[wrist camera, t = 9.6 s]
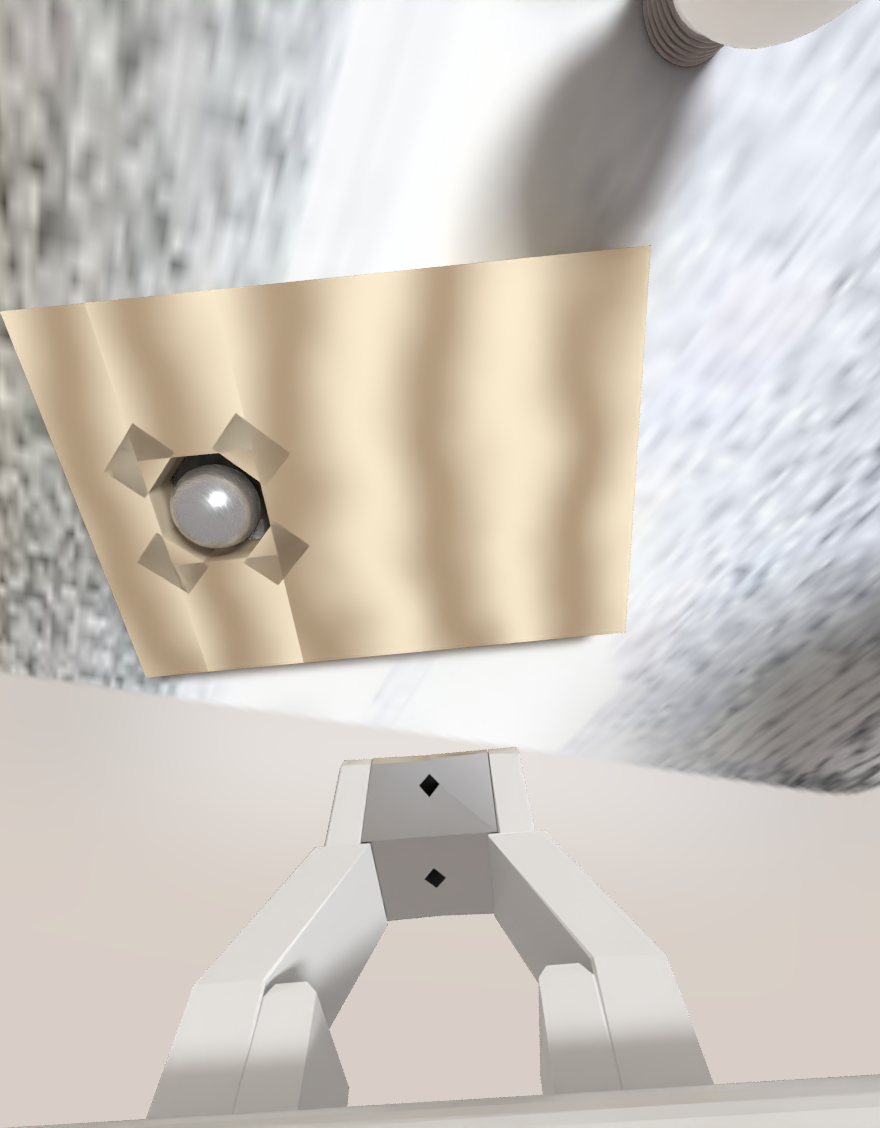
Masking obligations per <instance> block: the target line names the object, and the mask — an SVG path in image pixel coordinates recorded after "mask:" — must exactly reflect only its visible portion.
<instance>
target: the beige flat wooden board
mask: <svg viewBox="0 0 880 1128" xmlns="http://www.w3.org/2000/svg"><path fill="white" fill-rule="evenodd" d="M650 252H651V245H648V246H638V247H628V248H618V249H609V250H599V251H589V252H579V253H569V254H560V255H550V256H540V257H530V258H520V259H511V260H501V261H491V262H481V263H472V264H462V265H452V266H442V267H432V268H423V269H413V270H403V271H393V272H384V273H374V274H364V275H354V276H344V277H335V278H325V279H315V280H305V281H296V282H286V283H276V284H266V285H256V286H247V287H237V288H227V289H217V290H208V291H198V292H188V293H178V294H168V295H159V296H149V297H139V298H129V299H119V300H110V301H100V302H90V303H80V304H71V305H61V306H51V307H41V308H31V309H22V310H12V311H2V312H0V313H1V315H2V318H3V320H4V323H5V325H6V328H7V330H8V333H9V335H10V338H11V340H12V343H13V345H14V348H15V350H16V353H17V355H18V358H19V360H20V363H21V365H22V368H23V370H24V373H25V375H26V378H27V380H28V383H29V385H30V388H31V390H32V393H33V395H34V398H35V400H36V403H37V405H38V408H39V410H40V413H41V415H42V418H43V420H44V423H45V425H46V428H47V430H48V433H49V435H50V438H51V440H52V443H53V445H54V448H55V450H56V453H57V455H58V458H59V460H60V463H61V465H62V468H63V470H64V473H65V475H66V478H67V480H68V483H69V485H70V488H71V490H72V493H73V495H74V498H75V500H76V503H77V505H78V508H79V510H80V513H81V515H82V518H83V521H84V523H85V526H86V528H87V531H88V533H89V536H90V538H91V541H92V543H93V546H94V548H95V551H96V553H97V556H98V558H99V561H100V563H101V566H102V568H103V571H104V573H105V576H106V578H107V581H108V583H109V586H110V588H111V591H112V593H113V596H114V598H115V601H116V603H117V606H118V608H119V611H120V613H121V616H122V618H123V621H124V623H125V626H126V628H127V631H128V633H129V636H130V638H131V641H132V643H133V646H134V648H135V651H136V653H137V656H138V658H139V661H140V663H141V666H142V668H143V671H144V673H145V676H146V678H147V677H158V676H168V675H179V674H189V673H200V672H211V671H221V670H232V669H242V668H253V667H264V666H274V665H285V664H295V663H306V662H316V661H327V660H338V659H348V658H359V657H369V656H380V655H390V654H401V653H412V652H422V651H433V650H443V649H454V648H465V647H475V646H486V645H496V644H507V643H517V642H528V641H539V640H549V639H560V638H570V637H581V636H591V635H602V634H613V633H623V632H626V618H627V602H628V587H629V572H630V557H631V541H632V526H633V511H634V496H635V480H636V465H637V450H638V435H639V419H640V404H641V389H642V374H643V358H644V343H645V328H646V313H647V297H648V282H649V267H650ZM213 453H220V454H221V455H222V456H224V457H225V458H227V459H228V460H229V461H231V462H232V463H234V464H235V465H236V466H238V467H239V468H241V469H242V470H243V471H245V472H246V473H248V474H249V475H251V476H252V477H253V478H255V479H256V480H258V481H259V482H260V484H261V488H262V492H263V496H264V501H265V505H266V509H267V513H268V517H269V521H270V525H271V526H270V527H269V529H268V530H267V531H266V533H265V534H264V535H263V537H262V538H261V539H252V540H244V541H242V542H240V543H238V544H237V545H234V546H231V547H227V548H221V549H215V548H207V547H203V546H200V545H197V544H195V543H194V542H192V541H190V540H189V539H187V538H186V537H185V536H184V535H183V534H182V533H181V532H180V531H179V530H178V528H177V527H176V525H175V523H174V521H173V519H172V516H171V512H170V498H171V494H172V491H173V489H174V485H173V482H172V479H171V478H172V476H173V475H174V473H175V472H176V470H177V469H178V467H179V466H180V464H181V462H182V461H183V459H184V458H185V456H193V455H203V454H213Z"/></svg>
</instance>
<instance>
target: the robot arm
mask: <svg viewBox="0 0 880 1128" xmlns="http://www.w3.org/2000/svg"><path fill="white" fill-rule="evenodd" d="M491 913H494V915H495V917H496V919H497V921H498V922H499V924H500V925H501V927H502V928H503V930H504V931H505V933H506V934H507V936H508V938H509V939H510V941H511V942H512V944H513V945H514V947H515V948H516V950H517V951H518V953H519V954H520V956H521V957H522V959H523V960H524V962H525V963H526V965H527V967H528V968H529V970H530V971H531V973H532V974H533V976H534V977H535V979H536V980H537V982H538V983H539V1026H540V1076H541V1083H542V1091H543V1095H532V1096H516V1097H499V1098H484V1099H467V1100H450V1101H434V1102H417V1103H402V1104H386V1105H368V1106H352V1107H347V1103H348V1091H349V1086H348V1084H347V1080H346V1077H345V1075H344V1072H343V1069H342V1066H341V1063H340V1060H339V1057H338V1054H337V1051H336V1048H335V1045H334V1042H333V1039H332V1037H331V1034H330V1031H329V1028H330V1027H331V1025H332V1023H333V1021H334V1019H335V1018H336V1016H337V1014H338V1012H339V1011H340V1009H341V1007H342V1005H343V1003H344V1002H345V1000H346V998H347V996H348V995H349V993H350V991H351V989H352V988H353V986H354V984H355V982H356V980H357V979H358V976H359V975H360V973H361V972H362V970H363V968H364V966H365V964H366V963H367V961H368V959H369V957H370V955H371V954H372V952H373V950H374V948H375V947H376V945H377V943H378V941H379V940H380V938H381V936H382V934H383V933H384V931H385V929H386V927H387V925H388V923H387V921H391V920H401V919H412V918H422V917H431V916H442V915H464V914H465V915H467V914H491ZM11 1128H880V1074H877V1075H861V1076H844V1077H827V1078H811V1079H795V1080H778V1081H762V1082H745V1083H729V1084H713V1081H712V1078H711V1075H710V1073H709V1070H708V1067H707V1065H706V1062H705V1059H704V1056H703V1053H702V1051H701V1048H700V1046H699V1042H698V1040H697V1037H696V1034H695V1031H694V1029H693V1026H692V1023H691V1020H690V1018H689V1015H688V1012H687V1009H686V1007H685V1004H684V1001H683V999H682V996H681V993H680V991H679V988H678V985H677V982H676V979H675V977H674V974H673V971H672V968H671V966H670V963H669V960H668V957H667V955H666V954H665V953H664V952H663V951H662V950H661V949H660V948H659V947H658V945H656V943H655V942H654V941H653V940H651V938H650V937H649V936H648V935H647V934H646V933H645V932H644V931H643V930H642V929H641V928H640V927H639V926H638V925H637V924H636V923H635V922H634V921H633V920H632V919H631V918H630V917H629V916H628V915H627V914H626V913H625V912H624V911H623V910H622V909H621V908H620V907H619V906H618V905H617V904H616V903H615V902H614V901H613V900H612V899H611V898H610V896H608V894H606V892H605V891H604V890H602V888H601V887H600V886H599V885H598V884H597V883H596V882H595V881H594V880H593V879H592V878H591V877H590V876H589V875H588V874H587V873H586V872H585V871H584V870H583V869H582V868H581V867H580V866H579V865H578V864H577V863H576V862H575V861H574V860H573V859H572V858H571V857H570V856H569V855H568V854H567V853H566V852H565V851H564V850H563V849H562V848H561V847H560V846H559V844H557V842H556V841H555V840H554V839H553V838H552V837H551V836H550V835H549V834H548V833H547V832H546V831H545V830H538V831H537V830H536V831H535V828H534V823H533V818H532V813H531V808H530V803H529V798H528V793H527V788H526V783H525V777H524V772H523V767H522V762H521V758H520V753H519V750H518V749H517V747H511V748H500V749H489V750H488V752H487V750H478V751H467V752H456V753H445V754H433V755H426V756H408V757H391V758H374V759H365V760H345V761H344V762H343V764H342V766H341V768H340V771H339V776H338V781H337V786H336V791H335V796H334V801H333V806H332V811H331V816H330V821H329V826H328V830H327V836H326V840H325V846H323V847H316V848H314V849H313V850H312V851H311V853H310V854H309V855H308V856H307V857H306V858H305V859H304V861H303V862H302V863H301V864H300V865H299V866H298V868H297V869H296V870H295V871H294V872H293V873H292V874H291V875H290V876H289V878H288V879H287V880H286V881H285V882H284V883H283V885H282V886H281V887H280V888H279V889H278V890H277V891H276V892H275V894H274V895H273V896H272V897H271V898H270V899H269V900H268V902H267V903H266V904H265V905H264V906H263V907H262V908H261V910H260V911H259V912H258V913H257V914H256V915H255V916H254V917H253V919H252V920H251V921H250V922H249V923H248V924H247V925H246V927H245V928H244V929H243V930H242V931H241V932H240V934H239V935H238V936H237V937H236V938H235V939H234V940H233V942H231V944H230V945H229V946H228V947H227V948H226V949H225V950H224V952H223V953H222V954H221V955H220V956H219V957H218V958H217V960H216V961H215V962H214V963H213V964H212V965H211V967H210V968H209V969H208V970H207V971H206V972H205V973H204V974H203V976H202V977H201V978H200V979H199V980H198V981H197V982H196V983H195V985H194V986H193V989H192V991H191V995H190V997H189V1000H188V1003H187V1006H186V1008H185V1012H184V1014H183V1017H182V1020H181V1022H180V1025H179V1029H178V1031H177V1034H176V1037H175V1039H174V1042H173V1045H172V1048H171V1050H170V1053H169V1056H168V1059H167V1062H166V1064H165V1067H164V1070H163V1073H162V1076H161V1078H160V1081H159V1084H158V1087H157V1090H156V1092H155V1095H154V1098H153V1101H152V1104H151V1106H150V1109H149V1112H148V1115H147V1118H146V1119H140V1120H124V1121H108V1122H91V1123H76V1124H59V1125H45V1126H28V1127H11Z"/></svg>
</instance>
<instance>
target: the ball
mask: <svg viewBox="0 0 880 1128" xmlns="http://www.w3.org/2000/svg"><path fill="white" fill-rule="evenodd" d="M170 512H171V516H172V519H173V521H174V523H175V525H176V527H177V528H178V530H179V531H180V532H181V533H182V534H183V535H184V536H185V537H186V538H187V539H189V540H190V541H192V542H194V543H195V544H197V545H200V546H203V547H207V548H215V549H221V548H227V547H231V546H234V545H237V544H238V543H240V542H242V541H244V540H245V539H246V538H247V537H248V536H250V534H251V533H252V532H253V531H254V529H255V528H256V526H257V524H258V521H259V518H260V513H261V504H260V498H259V495H258V492H257V490H256V488H255V487H254V485H253V484H252V482H251V481H250V480H249V479H248V478H247V477H246V476H245V475H243V474H242V473H241V472H239V471H237V470H235V469H233V468H231V467H228V466H224V465H216V464H210V465H203V466H199V467H196V468H194V469H192V470H190V471H188V472H187V473H186V474H184V475H183V476H182V477H181V478H180V479H179V480H178V482H177V483H176V485H175V487H174V489H173V491H172V494H171V498H170Z"/></svg>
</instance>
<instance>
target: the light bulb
mask: <svg viewBox="0 0 880 1128" xmlns="http://www.w3.org/2000/svg"><path fill="white" fill-rule="evenodd" d="M859 1H860V0H643V14H644V21H645V26H646V29H647V32H648V35H649V38H650V40H651V42H652V44H653V45H654V47H655V49H656V50H657V51H658V53H659V54H660V55H661V56H662V57H664V58H665V59H666V60H667V61H669V62H671V63H673V64H675V65H678V66H683V67H690V66H696V65H698V64H700V63H703V62H705V61H706V60H707V59H709V58H710V57H712V56H713V55H714V54H715V53H716V52H717V51H719V50H720V49H721V48H722V47H723V46H724V45H726V46H730V47H734V48H745V49H758V48H763V47H769V46H774V45H778V44H782V43H785V42H789V41H792V40H794V39H796V38H799V37H801V36H803V35H806V34H808V33H810V32H813V31H814V30H816V29H818V28H819V27H821V26H823V25H825V24H826V23H828V22H830V21H832V20H833V19H835V18H836V17H838V16H839V15H840V14H842V13H843V12H845V11H846V10H848V9H849V8H851V7H852V6H854V5H855V4H856V3H858V2H859Z"/></svg>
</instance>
